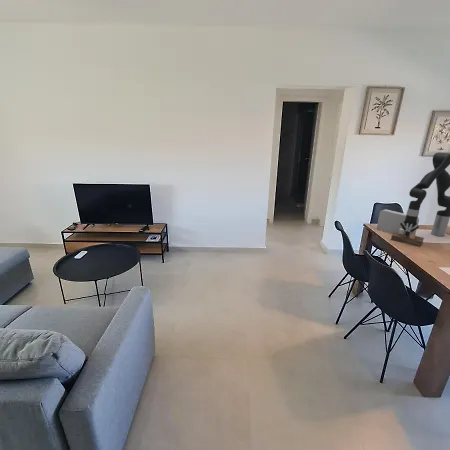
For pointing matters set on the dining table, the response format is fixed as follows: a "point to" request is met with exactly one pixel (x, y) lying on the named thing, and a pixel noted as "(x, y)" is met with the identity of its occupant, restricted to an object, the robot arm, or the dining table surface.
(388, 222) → the rounded white slab
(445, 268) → the dining table surface
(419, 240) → the console
